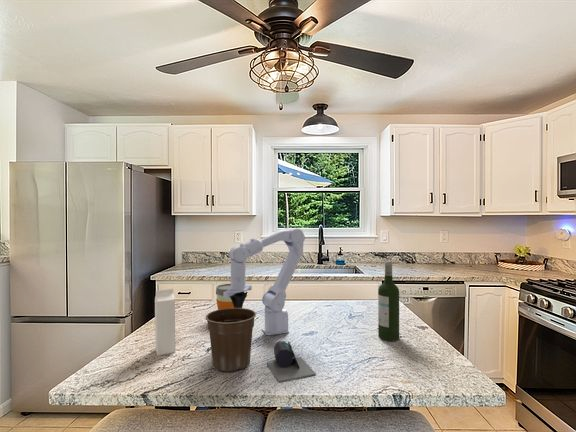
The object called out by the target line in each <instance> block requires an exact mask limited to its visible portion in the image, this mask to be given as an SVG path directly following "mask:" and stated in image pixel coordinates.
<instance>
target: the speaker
mask: <svg viewBox="0 0 576 432" xmlns="http://www.w3.org/2000/svg"><path fill="white" fill-rule="evenodd" d="M273 355H274V358H275V362H276V363H277V364H278V365H279V366H281V367H288V366H290V365H291V363H292V362H293V358H294V359H295V361H296V364H297V366H298V369H299V365H298V363H297V360H296V358H297V356H296V355H295V352H294V350H293V348H292V344H291V343H290V341H288V342H287V341H285V340H282V341H277V342H276V344H275V345H274V346H273Z"/></svg>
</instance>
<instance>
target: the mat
mask: <svg viewBox="0 0 576 432" xmlns="http://www.w3.org/2000/svg"><path fill="white" fill-rule="evenodd" d="M296 360H297V363H298V365H299V369H298V366H297V364H296V361H295V359H294V357H293V362H292V363H291V365H290V366H288V367H281V366H279V365H278V364H277V363H276V361H271V362H267V363H266V365H267V367H268V368H269V370H270V371H271V373H272V374H273V377H275V379H276V381H277V382H278V383H282V382H287V381H292V380H297V379H302V378H307V377H312V376H313V377H314V376H316V375H317V372H315V371H314V370H313V369H312V367H311V366H310V365H309V364H308V363H307V362H306V360H304V359H303V358H302V357H301V356H300V357H296Z"/></svg>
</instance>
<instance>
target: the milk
mask: <svg viewBox="0 0 576 432" xmlns="http://www.w3.org/2000/svg"><path fill="white" fill-rule="evenodd" d="M154 332H155V333H154V337H155V338H154V339H155V340H154V342H155V344H154V346H155V348H154V349H155V352H156V354H157V356H158V357H159V356H163V355H168V354H173V353H176V298H175V294H174V289H173V288H168V289H158V290H155V296H154Z"/></svg>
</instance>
